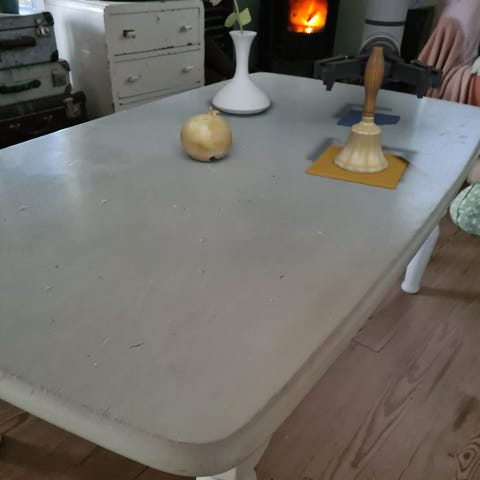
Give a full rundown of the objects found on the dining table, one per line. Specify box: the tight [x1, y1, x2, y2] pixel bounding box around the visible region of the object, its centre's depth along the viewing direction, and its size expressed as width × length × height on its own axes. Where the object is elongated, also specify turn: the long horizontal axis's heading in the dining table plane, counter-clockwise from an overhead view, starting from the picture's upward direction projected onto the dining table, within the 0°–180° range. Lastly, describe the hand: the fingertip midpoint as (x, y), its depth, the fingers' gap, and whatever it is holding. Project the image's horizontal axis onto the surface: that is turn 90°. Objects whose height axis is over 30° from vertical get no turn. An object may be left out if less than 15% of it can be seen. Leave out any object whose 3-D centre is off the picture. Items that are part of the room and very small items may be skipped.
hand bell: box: [333, 46, 389, 173], centre depth 74 cm, size 8×8×16 cm
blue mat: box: [336, 108, 401, 128], centre depth 99 cm, size 10×10×1 cm
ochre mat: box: [306, 144, 410, 190], centre depth 79 cm, size 13×13×1 cm
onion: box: [179, 105, 233, 163], centre depth 79 cm, size 8×8×7 cm
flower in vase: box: [209, 0, 271, 115], centre depth 95 cm, size 13×11×25 cm
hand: (374, 85), depth 77 cm, fingers open, 13 cm apart
